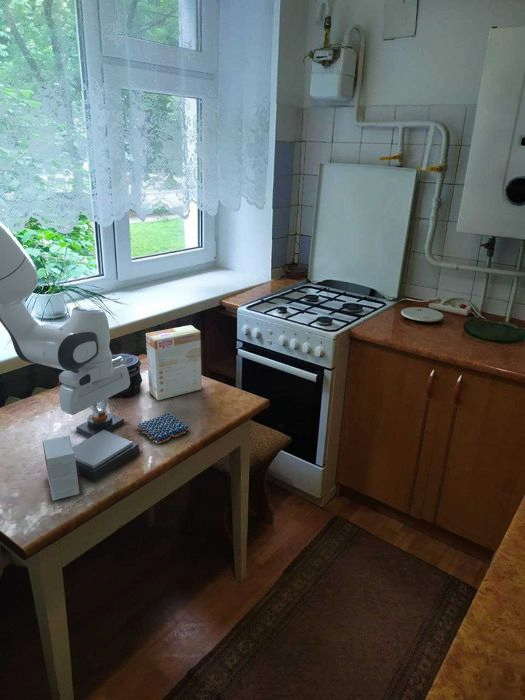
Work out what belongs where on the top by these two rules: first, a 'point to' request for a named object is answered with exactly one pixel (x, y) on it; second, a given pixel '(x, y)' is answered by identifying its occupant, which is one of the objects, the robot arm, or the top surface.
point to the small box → (61, 467)
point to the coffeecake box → (174, 361)
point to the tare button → (100, 418)
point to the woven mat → (163, 428)
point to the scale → (102, 454)
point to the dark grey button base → (99, 425)
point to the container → (130, 375)
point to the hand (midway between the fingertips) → (99, 415)
